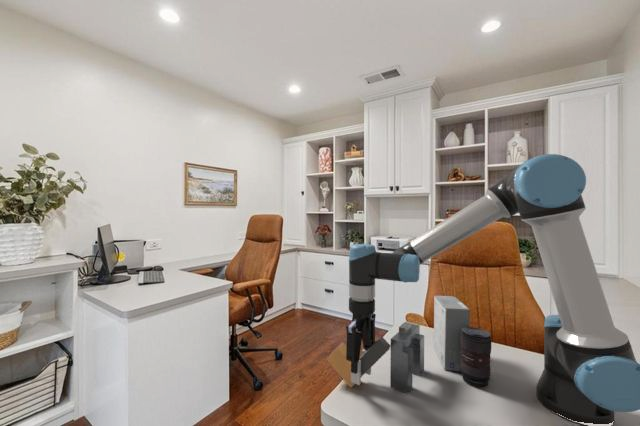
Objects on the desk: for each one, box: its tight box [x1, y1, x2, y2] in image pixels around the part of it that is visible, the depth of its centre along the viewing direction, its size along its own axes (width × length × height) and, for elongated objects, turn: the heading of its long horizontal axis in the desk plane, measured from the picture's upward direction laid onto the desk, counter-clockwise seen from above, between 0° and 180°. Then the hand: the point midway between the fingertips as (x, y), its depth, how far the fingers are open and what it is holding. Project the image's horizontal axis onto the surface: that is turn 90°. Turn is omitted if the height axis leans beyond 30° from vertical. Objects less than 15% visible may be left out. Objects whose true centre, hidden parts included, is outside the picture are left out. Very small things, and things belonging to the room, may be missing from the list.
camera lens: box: [460, 326, 492, 389], centre depth 84 cm, size 8×8×15 cm
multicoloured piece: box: [326, 335, 391, 388], centre depth 83 cm, size 16×5×10 cm
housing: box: [389, 321, 425, 395], centre depth 85 cm, size 5×15×16 cm, turn 143°
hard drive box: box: [433, 295, 471, 372], centre depth 97 cm, size 16×8×20 cm, turn 171°
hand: (361, 377), depth 81 cm, fingers closed on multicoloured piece, 6 cm apart
